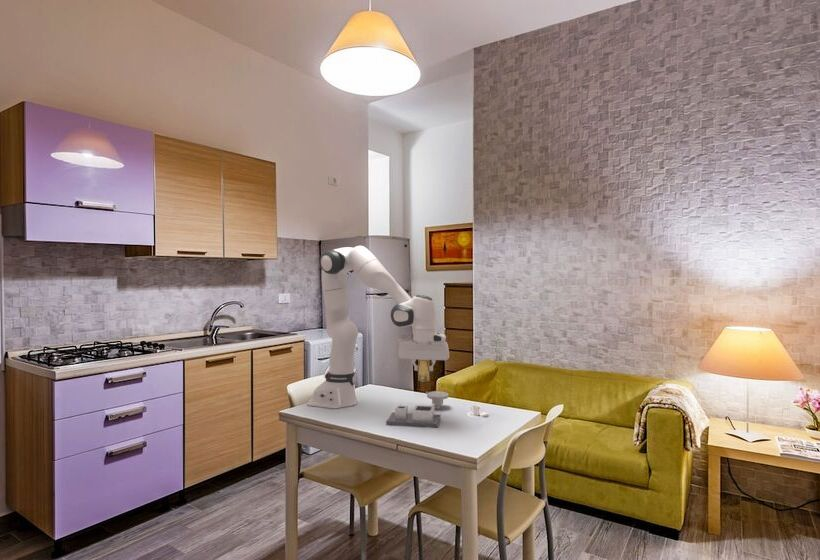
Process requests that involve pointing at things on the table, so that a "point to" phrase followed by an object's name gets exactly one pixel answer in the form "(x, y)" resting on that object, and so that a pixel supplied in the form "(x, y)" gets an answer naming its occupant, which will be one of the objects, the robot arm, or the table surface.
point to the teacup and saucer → (477, 412)
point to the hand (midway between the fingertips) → (423, 370)
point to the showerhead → (437, 397)
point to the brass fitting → (423, 370)
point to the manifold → (414, 417)
